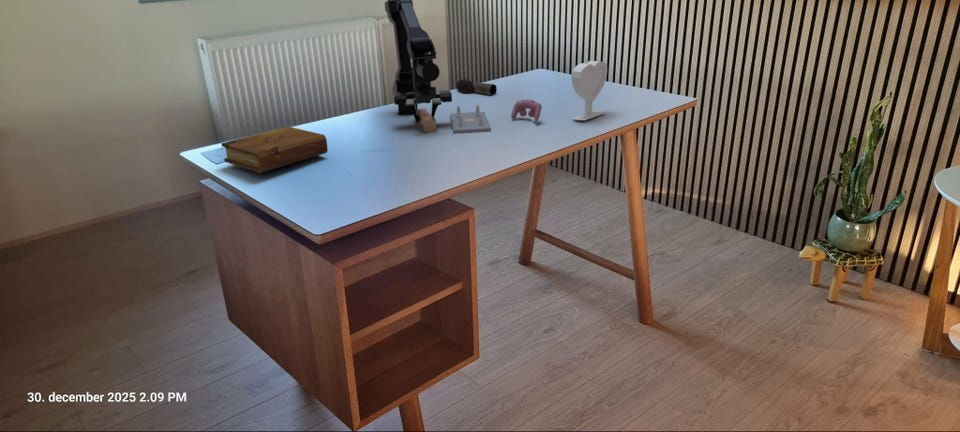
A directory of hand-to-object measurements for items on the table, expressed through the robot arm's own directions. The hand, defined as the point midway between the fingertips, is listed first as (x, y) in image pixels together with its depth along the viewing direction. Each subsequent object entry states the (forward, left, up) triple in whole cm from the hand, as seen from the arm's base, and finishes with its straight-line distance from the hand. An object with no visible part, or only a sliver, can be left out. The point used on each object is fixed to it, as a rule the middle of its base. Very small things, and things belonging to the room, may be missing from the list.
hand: (424, 123), depth 223 cm
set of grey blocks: (+15, 0, -1) cm, 15 cm away
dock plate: (+15, 0, -1) cm, 15 cm away
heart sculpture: (+56, +2, -1) cm, 56 cm away
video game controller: (+34, 0, -1) cm, 34 cm away
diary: (-44, -25, -2) cm, 51 cm away
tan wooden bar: (0, 0, -1) cm, 1 cm away
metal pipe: (+25, +40, -4) cm, 47 cm away
